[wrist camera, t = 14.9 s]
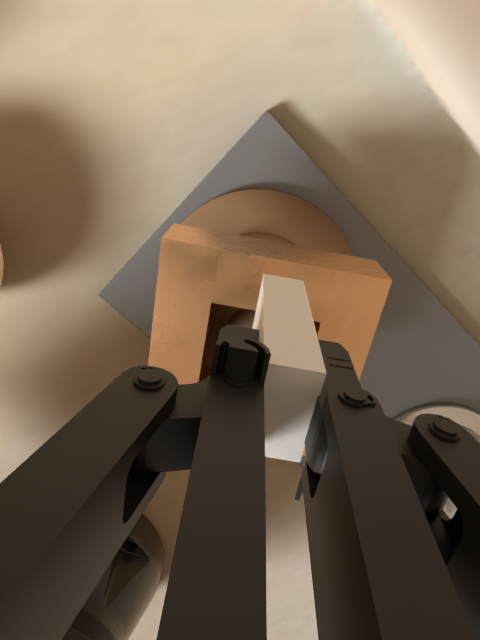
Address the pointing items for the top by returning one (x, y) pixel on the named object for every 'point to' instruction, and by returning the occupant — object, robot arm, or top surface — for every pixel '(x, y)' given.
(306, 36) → the top surface
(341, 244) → the walnut hub
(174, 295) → the wooden square ring
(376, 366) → the rubber mat
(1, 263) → the lidded jar
